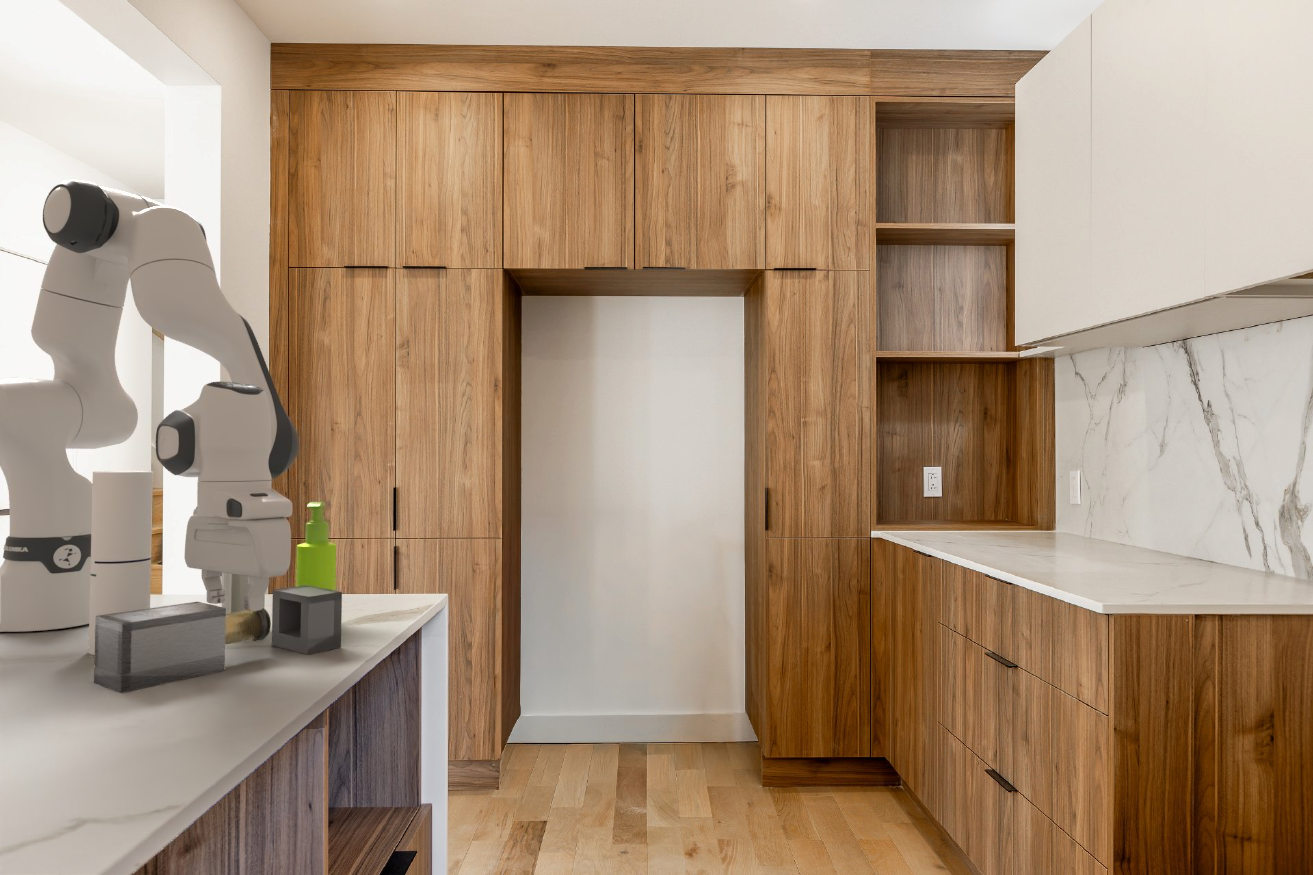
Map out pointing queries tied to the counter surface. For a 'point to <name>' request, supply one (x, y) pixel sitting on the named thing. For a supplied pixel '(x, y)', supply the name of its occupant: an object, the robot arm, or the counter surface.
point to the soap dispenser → (316, 553)
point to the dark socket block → (306, 619)
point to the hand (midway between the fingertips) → (234, 606)
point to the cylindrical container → (120, 544)
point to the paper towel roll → (235, 592)
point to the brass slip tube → (247, 626)
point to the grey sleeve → (159, 645)
